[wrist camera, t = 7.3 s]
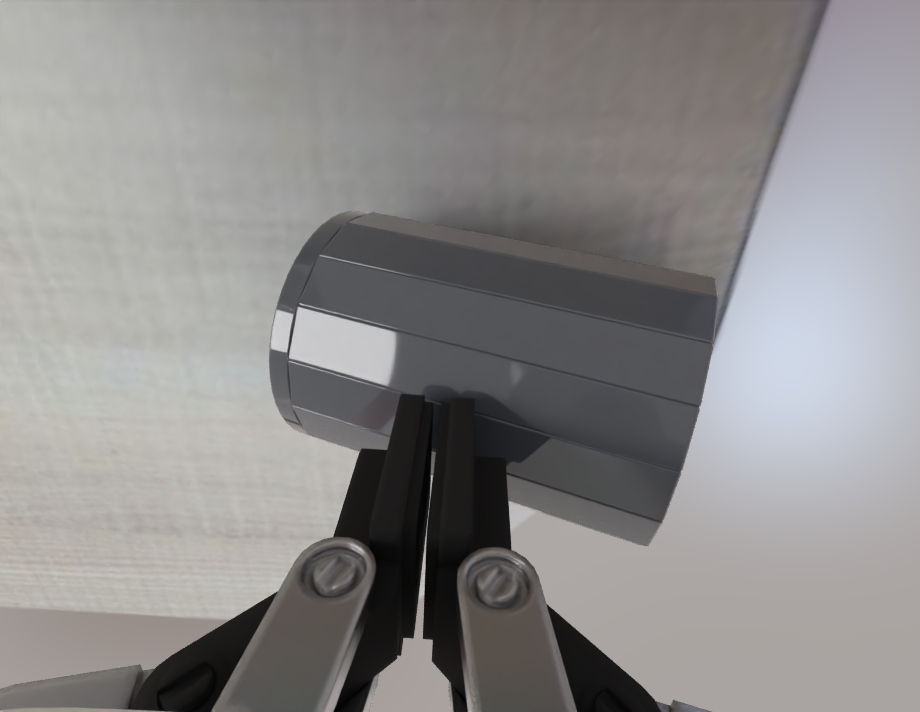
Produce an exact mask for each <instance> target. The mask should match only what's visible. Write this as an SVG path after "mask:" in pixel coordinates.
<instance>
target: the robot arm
mask: <svg viewBox="0 0 920 712" xmlns="http://www.w3.org/2000/svg"><path fill="white" fill-rule="evenodd" d="M474 408H475V399H474V398H460V397H451V403H441V411H440V420H439V429H438V437H437V446H436V455H435V464H434V473H433V481H432V490H431V499H430V482H431V456H432V431H433V402H425V395H414V394H401V395H400V398H399V403H398V407H397V411H396V415H395V419H394V424H393V428H392V432H391V436H390V440H389V444H388V449H387V450H382V449H367V448H362V449H361V450H360V453H359V456H358V459H357V462H356V465H355V469H354V472H353V475H352V478H351V482H350V485H349V488H348V491H347V494H346V498H345V501H344V504H343V507H342V511H341V514H340V517H339V520H338V524H337V527H336V530H335V533H334V537H333V538H327V539H323V540H321V541H319V542H316V543H314V544H312V545H311V546H309V547H308V548H307V549H305V550H304V551H303V552H302V553H301V554H300V555H299V557H298V558H297V559H296V561H295V562H294V564H293V566H292V568H291V569H290V571H289V573H288V575H287V577H286V578H285V580H284V582H283V584H282V585H281V587H280V589H279V591H278V592H276V593H274V594H273V595H271V596H269V597H268V598H266V599H264V600H263V601H261V602H259V603H258V604H256V605H254V606H253V607H251V608H250V609H248V610H246V611H245V612H243V613H241V614H240V615H238V616H236V617H235V618H233V619H231V620H230V621H228V622H226V623H225V624H223V625H221V626H220V627H218V628H216V629H215V630H213V631H212V632H210V633H208V634H206V635H205V636H203V637H201V638H200V639H198V640H197V641H195V642H193V643H192V644H190V645H188V646H187V647H185V648H183V649H182V650H180V651H178V652H177V653H175V654H174V655H172V656H170V657H169V658H168V659H166V660H165V661H164V662H162V663H161V664H160V665H159V666H157V667H156V668H155V669H150V670H144V671H143V670H142V667H141V665H134V666H128V667H122V668H115V669H109V670H103V671H96V672H90V673H84V674H77V675H71V676H65V677H59V678H52V679H46V680H40V681H33V682H27V683H21V684H15V685H12V686H8V687H5V688H2V689H0V712H369V711H370V707H371V704H372V701H373V698H374V695H375V692H376V688H377V685H378V678H379V673H380V672H381V671H382V670H383V669H385V668H386V667H387V666H388V665H390V664H391V663H392V662H393V661H395V660H396V659H397V655H399V656H401V651H402V644H403V638H414V631H415V622H416V614H417V605H418V597H419V588H420V579H421V571H422V562H423V553H424V545H425V536H426V527H427V519H428V527H427V543H426V570H425V597H424V624H423V639H431V640H433V649H432V662H433V663H434V664H435V665H436V666H437V668H438V669H439V670H440V671H441V672H442V673H443V674H444V675H445V677H446V678H447V679H448V680H449V690H448V691H449V701H450V712H711V711H708V710H704V709H701V708H697V707H694V706H691V705H688V704H685V703H681V702H678V701H675V700H673V702H672V704H671V706H669V705H666V704H663V703H659V702H656V701H655V700H654V699H653V698H652V697H651V696H650V694H649V693H648V692H647V691H646V690H645V689H644V688H643V687H642V686H641V685H640V684H639V683H637V682H636V681H635V680H634V679H633V678H632V677H631V676H629V675H628V674H627V673H626V672H625V671H624V670H622V669H621V668H620V667H619V666H618V665H617V664H615V663H614V662H613V661H612V660H611V659H610V658H608V657H607V656H606V655H605V654H604V653H603V652H601V651H600V650H599V649H598V648H597V647H596V646H595V645H593V644H592V643H591V642H590V641H589V640H588V639H587V638H585V637H584V636H583V635H582V634H581V633H579V632H578V631H577V630H576V629H575V628H574V627H572V626H571V625H570V624H569V623H568V622H567V621H566V620H564V619H563V618H562V617H561V616H560V615H559V614H558V613H556V612H555V611H554V610H553V609H552V608H550V607H549V606H548V605H547V604H546V601H545V598H544V594H543V591H542V588H541V584H540V580H539V577H538V575H537V573H536V571H535V569H534V567H533V566H532V565H531V564H530V562H529V561H528V560H527V559H526V558H525V557H523V556H521V555H520V554H518V553H517V552H514V551H512V550H511V535H510V519H509V504H508V488H507V472H506V460H505V458H503V457H488V456H474ZM429 500H430V508H429ZM428 510H429V517H428Z"/></svg>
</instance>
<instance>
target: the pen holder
mask: <svg viewBox="0 0 920 712" xmlns="http://www.w3.org/2000/svg"><path fill="white" fill-rule="evenodd" d="M717 310H718V292H717V285H716V279H715V278H713V277H708V276H703V275H698V274H693V273H687V272H682V271H677V270H672V269H666V268H661V267H656V266H651V265H646V264H640V263H635V262H630V261H625V260H619V259H614V258H609V257H604V256H599V255H593V254H588V253H583V252H578V251H572V250H567V249H562V248H557V247H552V246H546V245H541V244H536V243H531V242H525V241H520V240H515V239H510V238H505V237H499V236H494V235H489V234H484V233H478V232H473V231H468V230H463V229H458V228H452V227H447V226H442V225H437V224H432V223H426V222H421V221H416V220H411V219H405V218H400V217H395V216H390V215H385V214H379V213H374V212H371V213H365V212H360V211H348V212H344V213H340V214H338V215H336V216H334V217H332V218H330V219H329V220H328V221H326V222H325V223H324V224H322V225H321V226H320V227H319V228H318V229H317V230H316V231H315V232H314V233H313V234H312V236H311V237H310V238H309V239H308V241H307V242H306V243H305V245H304V246H303V248H302V249H301V251H300V253H299V254H298V256H297V257H296V259H295V261H294V263H293V265H292V267H291V269H290V271H289V273H288V275H287V278H286V280H285V283H284V285H283V288H282V291H281V294H280V297H279V300H278V304H277V307H276V311H275V316H274V320H273V325H272V332H271V339H270V352H269V369H270V381H271V387H272V392H273V396H274V399H275V403H276V405H277V408H278V410H279V412H280V414H281V416H282V417H283V418H284V420H285V421H286V423H288V424H289V425H290V426H291V427H292V428H293V429H294V430H296V431H298V432H300V433H303V434H306V435H309V436H312V437H315V438H318V439H321V440H323V441H326V442H329V443H332V444H335V445H338V446H341V447H344V448H347V449H350V450H353V451H356V452H359V453H360V450H361V449H362V448H367V449H382V450H387V449H388V444H389V440H390V436H391V432H392V428H393V424H394V419H395V415H396V411H397V407H398V403H399V398H400V395H401V394H414V395H425V402H433V431H432V456H431V476H432V477H433V473H434V464H435V455H436V446H437V437H438V429H439V420H440V411H441V403H451V397H460V398H474V399H475V408H474V456H488V457H503V458H505V460H506V472H507V488H508V502H510V503H513V504H517V505H520V506H523V507H526V508H529V509H532V510H535V511H538V512H541V513H544V514H547V515H550V516H553V517H556V518H559V519H562V520H565V521H568V522H571V523H574V524H578V525H580V526H583V527H587V528H589V529H592V530H595V531H599V532H601V533H604V534H608V535H611V536H614V537H617V538H620V539H623V540H626V541H629V542H632V543H635V544H638V545H643V546H648V545H649V544H650V543H651V541H652V539H653V538H654V536H655V534H656V533H657V531H658V529H659V527H660V526H661V524H662V522H663V520H664V518H665V515H666V513H667V509H668V507H669V505H670V502H671V499H672V497H673V494H674V492H675V489H676V486H677V483H678V481H679V478H680V476H681V471H682V470H683V466H684V463H685V459H686V455H687V452H688V449H689V445H690V442H691V438H692V435H693V431H694V428H695V424H696V421H697V417H698V413H699V406H700V405H701V401H702V396H703V392H704V387H705V382H706V378H707V373H708V369H709V364H710V359H711V354H712V350H713V343H714V337H715V328H716V319H717Z"/></svg>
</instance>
